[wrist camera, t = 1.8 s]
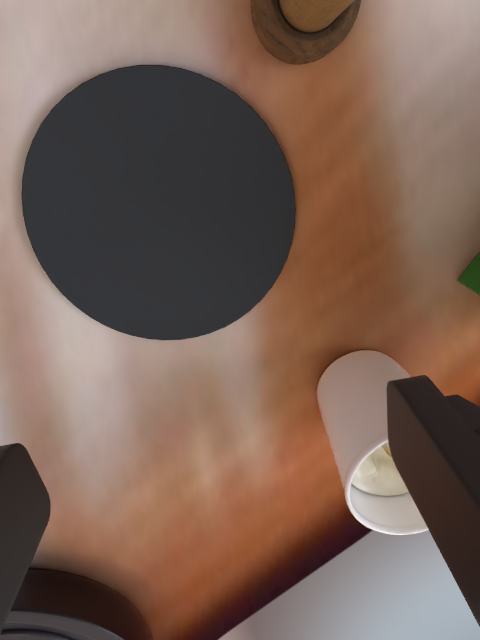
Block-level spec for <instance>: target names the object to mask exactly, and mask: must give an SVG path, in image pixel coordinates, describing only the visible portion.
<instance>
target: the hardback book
mask: <svg viewBox="0 0 480 640" xmlns="http://www.w3.org/2000/svg"><path fill="white" fill-rule="evenodd" d="M457 281H459V282H460V283H462V284H463V285H465V286H466V287H468V288H470V289H471V290H473V291H474V292H476V293H477V294H479V295H480V253H479V254H478V255H477V257H476V258H475V259H474V260H473V261H472V263H471V264H470V265H469V266H468V268H467V269H466V270H465V271H464V273H463V274H462V275H461V276H460V278H459V279H458V280H457Z"/></svg>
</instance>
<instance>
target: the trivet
mask: <svg viewBox="0 0 480 640" xmlns="http://www.w3.org/2000/svg"><path fill="white" fill-rule="evenodd" d="M22 206H23V216H24V220H25V225H26V230H27V233H28V236H29V239H30V242H31V245H32V248H33V250H34V252H35V254H36V256H37V258H38V260H39V262H40V264H41V266H42V268H43V269H44V271H45V272H46V274H47V275H48V277H49V278H50V280H51V281H52V282H53V283H54V285H55V286H56V287H57V288H58V289H59V291H60V292H61V293H62V294H63V295H64V296H65V297H66V298H67V299H68V300H69V301H70V302H71V303H72V304H73V305H75V306H76V307H77V308H78V309H80V310H81V311H82V312H84V313H85V314H86V315H88V316H89V317H91V318H93V319H95V320H96V321H98V322H100V323H101V324H103V325H105V326H108V327H110V328H112V329H114V330H117V331H119V332H123V333H126V334H129V335H132V336H137V337H142V338H147V339H157V340H180V339H187V338H193V337H198V336H201V335H205V334H208V333H211V332H214V331H216V330H219V329H221V328H223V327H226V326H227V325H229V324H231V323H233V322H234V321H236V320H238V319H239V318H241V317H242V316H243V315H245V314H246V313H247V312H249V311H250V310H251V309H252V308H253V307H254V306H255V305H256V304H257V303H259V302H260V301H261V300H262V298H263V297H264V296H265V295H266V294H267V292H268V291H269V290H270V289H271V287H272V286H273V284H274V283H275V281H276V279H277V278H278V276H279V275H280V273H281V271H282V268H283V266H284V264H285V262H286V260H287V257H288V254H289V250H290V247H291V244H292V239H293V233H294V228H295V210H296V208H295V196H294V188H293V183H292V179H291V174H290V171H289V168H288V165H287V162H286V159H285V157H284V154H283V152H282V150H281V148H280V146H279V144H278V142H277V140H276V138H275V137H274V135H273V134H272V132H271V131H270V129H269V128H268V126H267V125H266V124H265V122H264V121H263V120H262V119H261V118H260V116H259V115H258V114H257V113H256V112H255V111H254V110H253V109H252V107H251V106H249V105H248V104H247V103H246V102H245V101H244V100H242V99H241V98H240V97H239V96H238V95H237V94H235V93H234V92H232V91H231V90H229V89H228V88H226V87H225V86H223V85H221V84H220V83H218V82H216V81H214V80H212V79H210V78H207V77H205V76H203V75H201V74H198V73H195V72H192V71H188V70H185V69H182V68H176V67H170V66H163V65H137V66H130V67H124V68H118V69H115V70H112V71H109V72H106V73H103V74H100V75H98V76H96V77H94V78H92V79H90V80H88V81H86V82H84V83H82V84H81V85H79V86H78V87H77V88H75V89H74V90H72V91H71V92H70V93H68V94H67V95H66V96H65V97H64V98H63V99H62V100H61V101H60V102H59V103H58V104H57V105H56V106H55V107H54V108H53V109H52V110H51V111H50V113H49V114H48V116H47V117H46V118H45V120H44V121H43V122H42V124H41V126H40V127H39V129H38V131H37V133H36V135H35V137H34V139H33V141H32V144H31V146H30V149H29V152H28V155H27V158H26V163H25V168H24V173H23V180H22Z"/></svg>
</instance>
